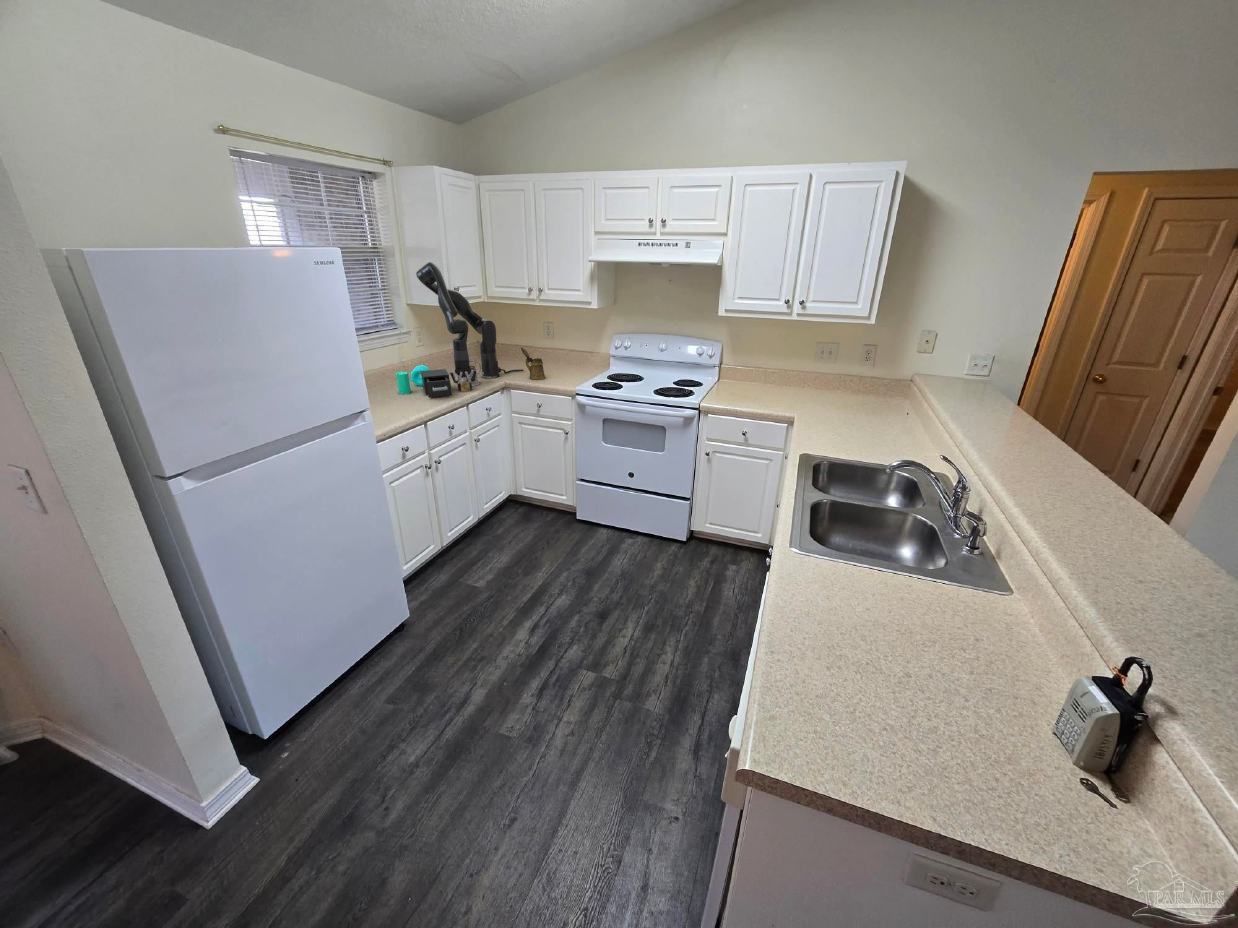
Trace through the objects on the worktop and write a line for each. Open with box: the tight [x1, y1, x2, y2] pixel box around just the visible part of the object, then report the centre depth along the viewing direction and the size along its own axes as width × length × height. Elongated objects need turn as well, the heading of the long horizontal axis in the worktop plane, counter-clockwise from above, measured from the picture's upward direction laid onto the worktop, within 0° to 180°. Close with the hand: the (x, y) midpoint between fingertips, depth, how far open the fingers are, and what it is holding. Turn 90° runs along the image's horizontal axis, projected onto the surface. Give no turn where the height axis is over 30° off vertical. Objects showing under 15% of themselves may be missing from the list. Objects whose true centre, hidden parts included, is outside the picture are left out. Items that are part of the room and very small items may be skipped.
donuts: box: [410, 364, 431, 387], centre depth 286 cm, size 10×10×10 cm
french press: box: [462, 339, 482, 387], centre depth 285 cm, size 10×12×25 cm
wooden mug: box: [520, 347, 546, 381], centre depth 300 cm, size 9×14×18 cm, turn 84°
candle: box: [395, 369, 412, 395], centre depth 269 cm, size 6×6×12 cm
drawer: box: [426, 377, 453, 399], centre depth 263 cm, size 18×12×8 cm, turn 24°
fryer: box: [420, 368, 451, 396], centre depth 273 cm, size 15×13×10 cm
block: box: [460, 380, 471, 393], centre depth 276 cm, size 4×4×4 cm
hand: (465, 389), depth 276 cm, fingers closed on block, 4 cm apart
